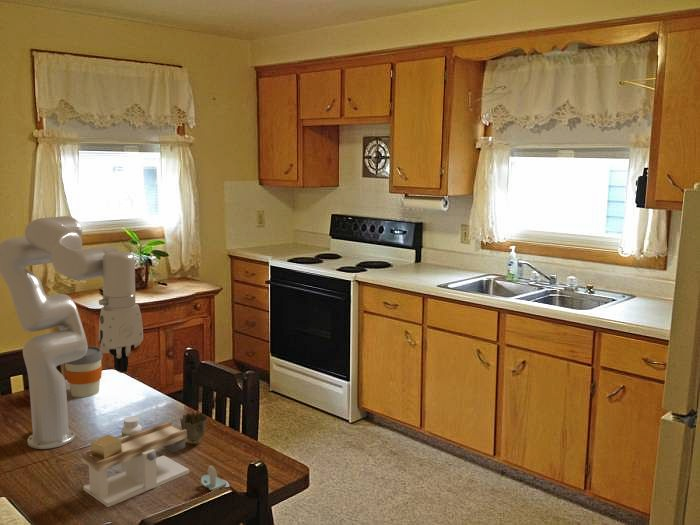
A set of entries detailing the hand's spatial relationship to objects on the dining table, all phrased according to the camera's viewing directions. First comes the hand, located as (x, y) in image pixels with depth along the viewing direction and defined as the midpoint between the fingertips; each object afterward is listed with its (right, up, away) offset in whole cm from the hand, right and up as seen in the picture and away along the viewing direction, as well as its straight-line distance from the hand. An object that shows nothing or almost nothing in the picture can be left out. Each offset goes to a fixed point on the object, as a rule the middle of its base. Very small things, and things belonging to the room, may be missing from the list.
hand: (121, 370), depth 168 cm
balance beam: (+4, -23, 0) cm, 23 cm away
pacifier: (+24, -30, -1) cm, 38 cm away
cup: (+13, -25, +24) cm, 37 cm away
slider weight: (-1, -20, -7) cm, 21 cm away
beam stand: (+4, -29, +1) cm, 29 cm away
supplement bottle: (-3, -26, +18) cm, 32 cm away
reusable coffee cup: (-34, -18, +62) cm, 73 cm away
